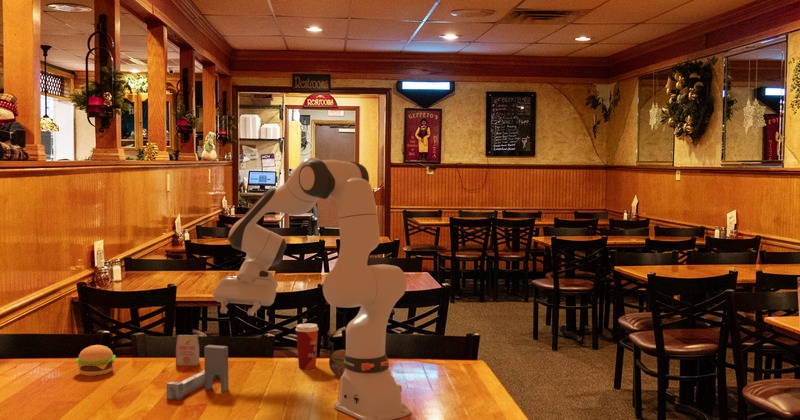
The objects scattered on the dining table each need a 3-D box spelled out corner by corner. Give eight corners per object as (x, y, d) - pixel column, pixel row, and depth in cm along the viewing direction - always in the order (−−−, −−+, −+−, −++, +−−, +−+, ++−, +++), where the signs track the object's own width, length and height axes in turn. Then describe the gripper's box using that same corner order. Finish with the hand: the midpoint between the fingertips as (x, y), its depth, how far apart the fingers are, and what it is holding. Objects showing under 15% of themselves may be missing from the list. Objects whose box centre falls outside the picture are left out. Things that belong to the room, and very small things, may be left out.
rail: (211, 376, 236) (211, 362, 235) (222, 377, 235) (222, 363, 234) (166, 398, 213) (166, 383, 212) (179, 400, 212) (178, 384, 211)
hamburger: (107, 377, 234) (106, 350, 233) (69, 377, 234) (68, 350, 233) (122, 367, 246) (121, 341, 245) (86, 367, 246) (85, 341, 245)
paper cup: (317, 370, 243) (317, 328, 242) (293, 370, 243) (293, 327, 242) (320, 363, 250) (320, 322, 250) (297, 363, 251) (297, 322, 250)
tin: (328, 374, 238) (328, 348, 237) (333, 372, 241) (333, 346, 240) (369, 381, 231) (369, 354, 230) (374, 378, 234) (374, 352, 233)
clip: (228, 389, 222) (227, 346, 221) (223, 391, 219) (223, 348, 219) (209, 387, 224) (208, 344, 223) (204, 389, 221) (204, 346, 220)
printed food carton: (179, 363, 251) (179, 333, 250) (199, 363, 251) (199, 334, 250) (175, 366, 247) (175, 336, 247) (196, 366, 247) (195, 336, 246)
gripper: (219, 270, 242) (203, 305, 233) (276, 273, 236) (262, 310, 227) (226, 281, 246) (210, 316, 238) (282, 285, 240) (268, 321, 232)
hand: (236, 313), depth 232 cm, fingers open, 8 cm apart
